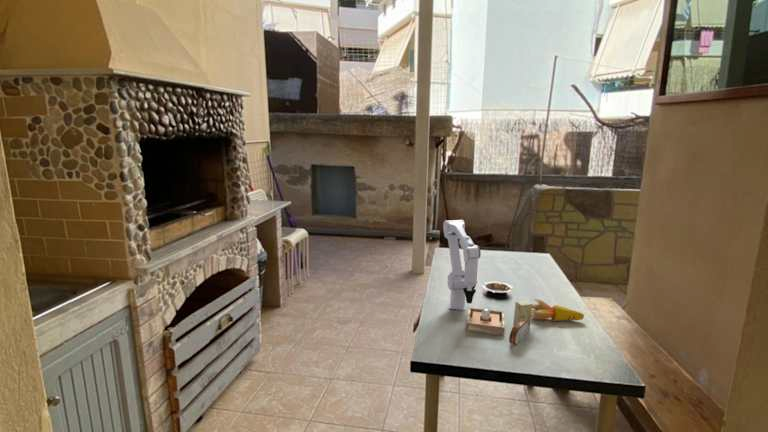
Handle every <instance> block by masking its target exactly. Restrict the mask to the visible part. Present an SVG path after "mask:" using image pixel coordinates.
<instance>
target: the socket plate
mask: <svg viewBox="0 0 768 432" xmlns="http://www.w3.org/2000/svg"><path fill="white" fill-rule="evenodd" d="M481 319H482V312H474V311H473V316H472V323H478V324H486V325H494V326H499V314H491V313H490V318H489V322H487V321H481Z"/></svg>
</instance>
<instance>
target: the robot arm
mask: <svg viewBox="0 0 768 432" xmlns="http://www.w3.org/2000/svg"><path fill="white" fill-rule="evenodd" d="M442 224H443V225H442V229H443V236H444V238H445V239H447V241H448V249H449V256H450V263H451V271H450V272H449V274H448V275H447V287H448V289H449V290H450V302H449V306H448V309H450V310H459V311H466V307H467V304H472V303H473V299H474V296H475V293H476V291H477V289H475V288H476V287H477V285H478V268H479V267H478V265H479V259H480V258H481V249H480V246H479V245H477V244H475V243H474V241H473V239H472V238H471V236H470V235H467V233H466V224H465V220H463V219H456V220H455V219H454V220H453V219H451V220H450V219H449V220H447V219H445V220H444V222H443V223H442ZM459 246H460V247H461V250H462V254H463V255H462V256H463V262H464V270H463V268H462V267H463V266H462V259H461V253H460V247H459Z"/></svg>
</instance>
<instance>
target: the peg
mask: <svg viewBox="0 0 768 432" xmlns="http://www.w3.org/2000/svg"><path fill="white" fill-rule="evenodd" d="M481 309H482V319H481V321H487V322H489V318H490V310H491V309H490V308H489V307H483V308H481Z"/></svg>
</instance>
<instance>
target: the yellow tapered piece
mask: <svg viewBox="0 0 768 432" xmlns="http://www.w3.org/2000/svg"><path fill="white" fill-rule="evenodd" d="M533 300H534V301H535V302H537V303H534V304H533V303H532V304H533V305H532V313H531V320H538V321H539V320H546V319H551V320H552V322H555V323H556V322H560V321H582V320H584V316H585V315H584V313H583V312H580V311H577V310H572V309H569V308H566V307H564V306H559V305H553V306H550V305H549V304H547V303H546V302H544V301H543V300H542V299H536V298H533Z"/></svg>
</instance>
